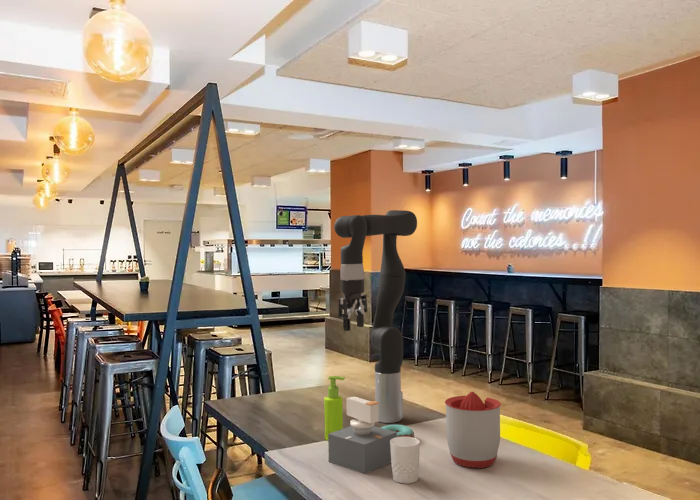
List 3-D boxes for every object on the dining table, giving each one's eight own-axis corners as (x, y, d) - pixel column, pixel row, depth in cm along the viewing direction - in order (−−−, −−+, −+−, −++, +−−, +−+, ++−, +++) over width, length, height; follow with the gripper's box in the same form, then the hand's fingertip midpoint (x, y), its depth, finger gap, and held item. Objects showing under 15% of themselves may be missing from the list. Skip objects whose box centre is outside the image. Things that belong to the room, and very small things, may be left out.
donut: (371, 437, 190) (370, 425, 190) (404, 433, 194) (404, 421, 194) (385, 449, 178) (385, 436, 178) (420, 444, 183) (420, 431, 183)
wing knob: (341, 423, 171) (340, 397, 171) (360, 418, 175) (359, 393, 175) (365, 432, 162) (364, 405, 162) (384, 427, 167) (383, 401, 167)
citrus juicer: (506, 454, 172) (505, 386, 172) (496, 475, 157) (495, 400, 157) (454, 447, 179) (453, 382, 179) (439, 467, 163) (438, 395, 163)
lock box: (361, 448, 179) (360, 416, 179) (397, 459, 169) (396, 425, 169) (328, 461, 168) (328, 426, 168) (365, 473, 159) (364, 437, 159)
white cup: (388, 473, 159) (388, 437, 159) (417, 472, 159) (416, 435, 159) (393, 485, 151) (392, 446, 151) (423, 484, 152) (422, 445, 152)
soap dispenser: (344, 441, 185) (343, 378, 185) (322, 440, 187) (321, 378, 187) (347, 436, 191) (346, 374, 191) (327, 434, 193) (326, 374, 193)
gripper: (353, 276, 195) (354, 325, 195) (330, 279, 182) (332, 331, 182) (373, 276, 191) (374, 326, 191) (351, 279, 178) (352, 332, 179)
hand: (353, 328), depth 187 cm, fingers open, 8 cm apart
